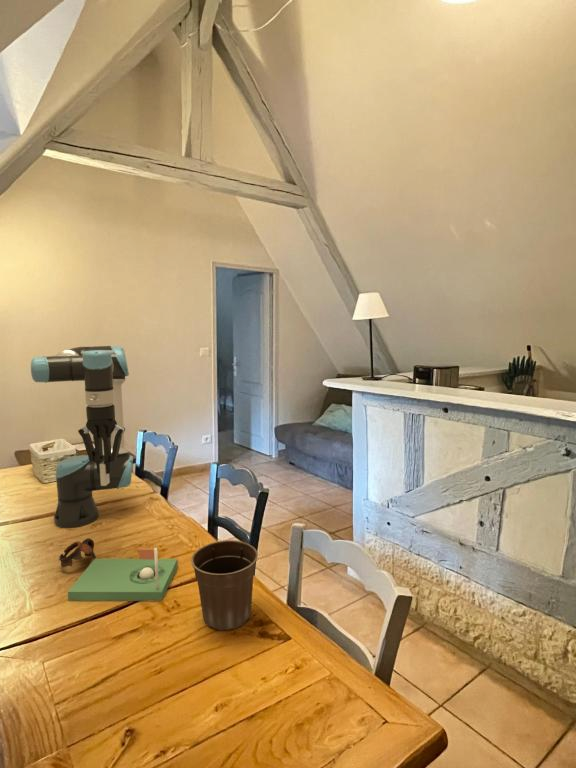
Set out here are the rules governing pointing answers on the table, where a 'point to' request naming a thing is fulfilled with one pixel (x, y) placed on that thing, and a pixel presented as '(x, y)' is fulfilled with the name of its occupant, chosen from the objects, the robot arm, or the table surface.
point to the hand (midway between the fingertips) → (105, 483)
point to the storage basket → (49, 458)
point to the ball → (146, 574)
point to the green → (122, 580)
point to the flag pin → (151, 555)
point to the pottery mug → (78, 552)
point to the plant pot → (225, 582)
